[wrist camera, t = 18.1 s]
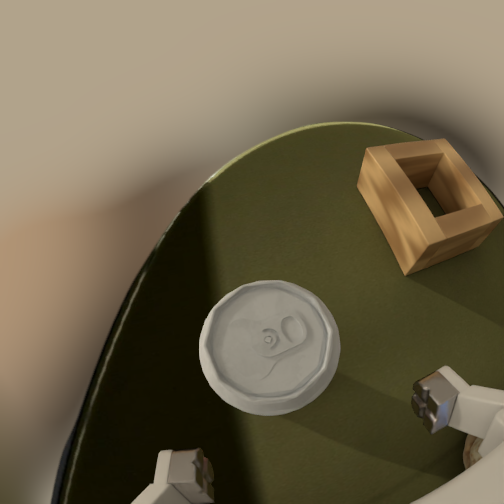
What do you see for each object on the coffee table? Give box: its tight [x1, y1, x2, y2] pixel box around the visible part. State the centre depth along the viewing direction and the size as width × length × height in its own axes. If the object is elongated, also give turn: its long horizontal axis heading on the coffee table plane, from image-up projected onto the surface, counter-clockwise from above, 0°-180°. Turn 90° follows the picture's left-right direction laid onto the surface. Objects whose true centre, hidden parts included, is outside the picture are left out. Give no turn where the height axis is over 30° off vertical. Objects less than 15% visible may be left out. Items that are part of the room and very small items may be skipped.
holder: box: [357, 139, 503, 276], centre depth 22 cm, size 10×10×5 cm
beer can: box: [199, 280, 340, 416], centre depth 14 cm, size 5×5×12 cm
